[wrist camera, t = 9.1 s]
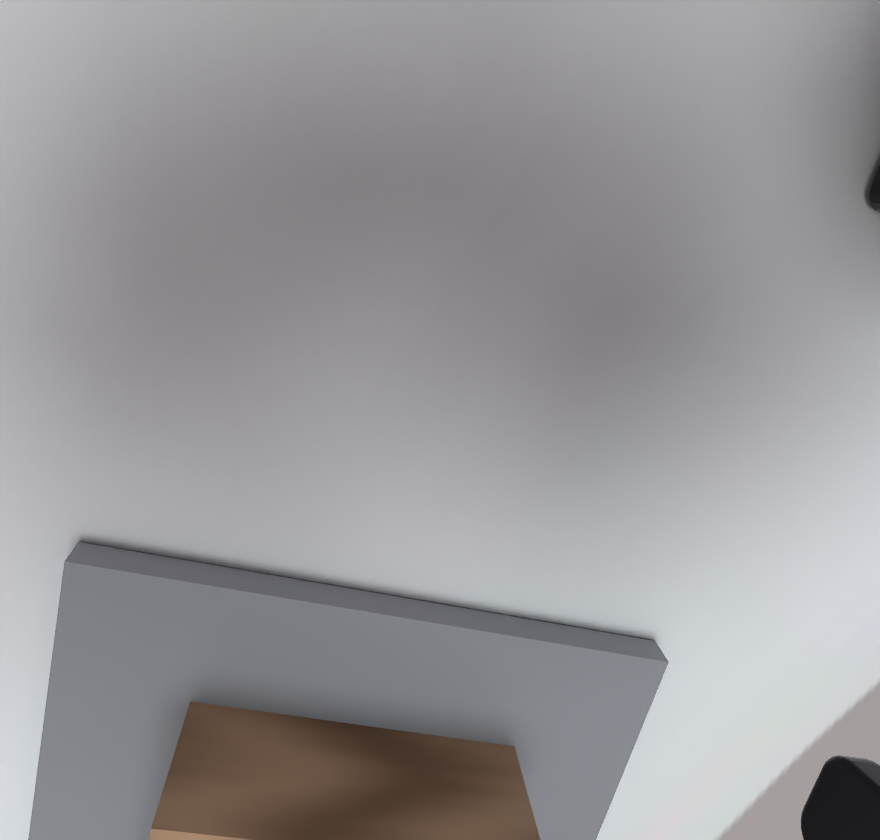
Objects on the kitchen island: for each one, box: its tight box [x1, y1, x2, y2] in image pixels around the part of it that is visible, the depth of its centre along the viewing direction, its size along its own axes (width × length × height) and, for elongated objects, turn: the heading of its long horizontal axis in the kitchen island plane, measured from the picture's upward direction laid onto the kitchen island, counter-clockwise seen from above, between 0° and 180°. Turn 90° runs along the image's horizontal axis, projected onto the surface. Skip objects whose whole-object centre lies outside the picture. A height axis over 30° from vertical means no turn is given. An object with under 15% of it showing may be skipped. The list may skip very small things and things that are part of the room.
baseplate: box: [28, 542, 668, 840], centre depth 22 cm, size 16×16×1 cm
